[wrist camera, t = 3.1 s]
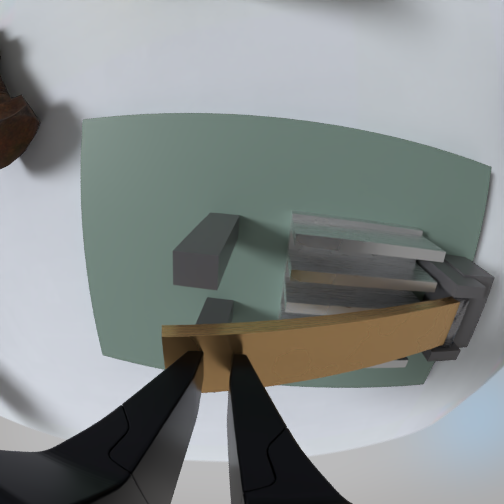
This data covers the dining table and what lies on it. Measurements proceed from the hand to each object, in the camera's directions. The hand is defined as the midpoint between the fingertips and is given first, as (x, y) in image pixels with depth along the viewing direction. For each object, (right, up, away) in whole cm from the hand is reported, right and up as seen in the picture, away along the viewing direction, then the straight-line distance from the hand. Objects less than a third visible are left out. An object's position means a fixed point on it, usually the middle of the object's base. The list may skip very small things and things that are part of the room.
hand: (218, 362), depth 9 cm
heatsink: (+6, +2, +7) cm, 9 cm away
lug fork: (-1, +2, +7) cm, 8 cm away
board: (+3, +2, +8) cm, 9 cm away
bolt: (-19, +17, +5) cm, 26 cm away
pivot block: (+11, +1, +7) cm, 13 cm away
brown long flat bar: (+5, 0, +2) cm, 5 cm away
